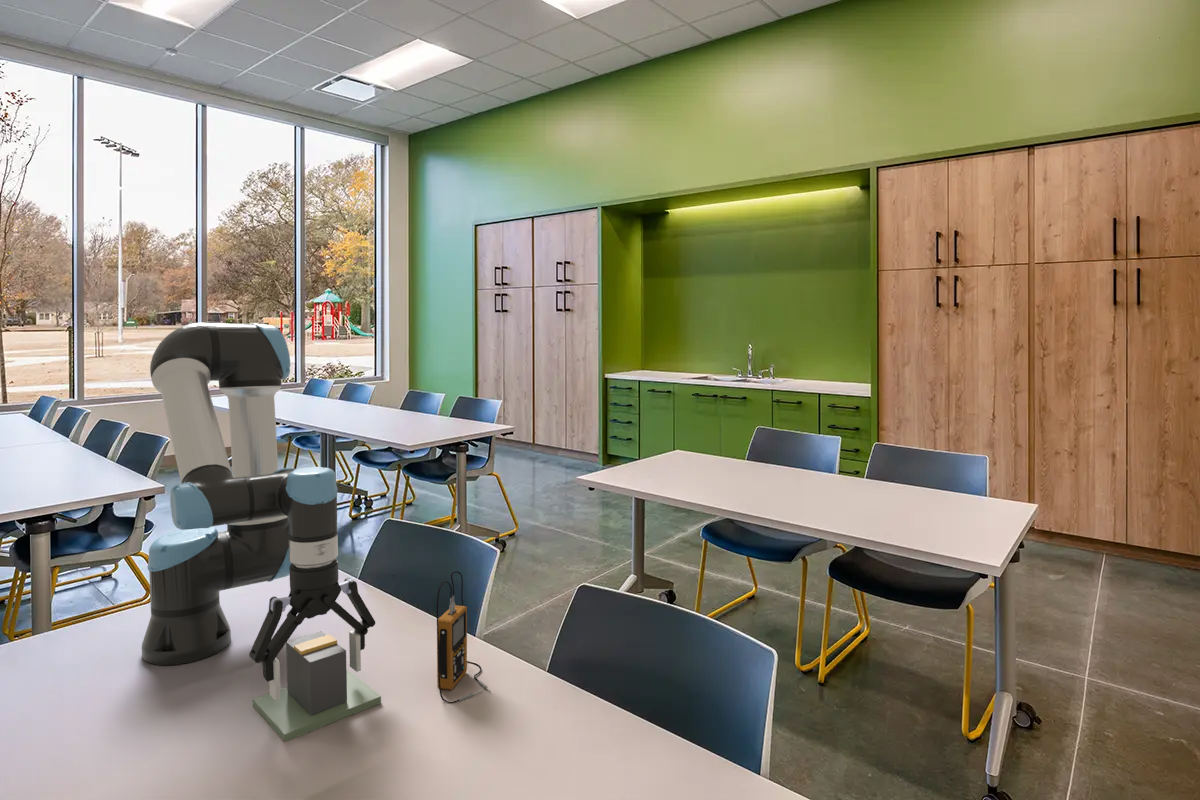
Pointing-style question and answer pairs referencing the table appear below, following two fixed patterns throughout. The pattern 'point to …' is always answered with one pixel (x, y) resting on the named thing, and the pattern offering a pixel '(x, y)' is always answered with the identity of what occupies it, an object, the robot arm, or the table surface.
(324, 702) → the block
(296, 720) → the board
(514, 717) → the table surface
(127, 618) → the table surface
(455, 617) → the multimeter
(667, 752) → the table surface
